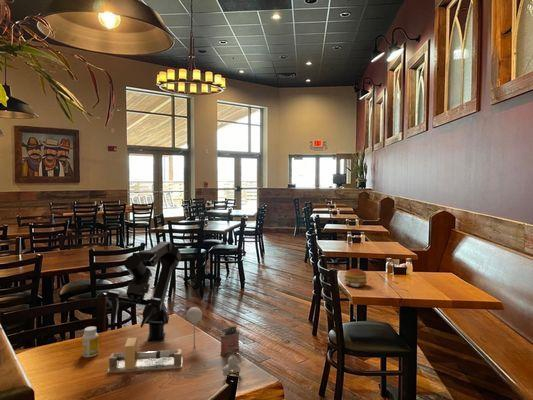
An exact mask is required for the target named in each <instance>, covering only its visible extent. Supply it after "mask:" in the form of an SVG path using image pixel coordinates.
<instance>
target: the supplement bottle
mask: <svg viewBox="0 0 533 400" xmlns="http://www.w3.org/2000/svg"><path fill="white" fill-rule="evenodd" d="M97 331H98V330H97V326H87V327H85V328H84V331H83V332H84V334H83V335H82V337H81V338H82V339H81V341H82V343H81V345H82V349H81V350H82V351H81V352H82V356H83V357H84V358H92V357H95V356H97V355H98V354H99V333H98V332H97Z"/></svg>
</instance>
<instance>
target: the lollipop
mask: <svg viewBox="0 0 533 400" xmlns="http://www.w3.org/2000/svg"><path fill="white" fill-rule="evenodd" d="M185 317H186V319H187V321H188V322H190V323H192V324H193V347H195V346H196V323H199V322H200V321H201V320H202V317H203V312H202V310H201V309H200V307H197V306H192V307H190V308H189V309H188V310H187V311H186V314H185Z"/></svg>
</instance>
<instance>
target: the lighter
mask: <svg viewBox="0 0 533 400" xmlns="http://www.w3.org/2000/svg"><path fill="white" fill-rule="evenodd" d="M237 327H238V326H237V324H236V325H235V324H234V325H231V324H230V325H228V327H223V328H222V329H221V330H222V333H221V334H220V352H219V353H220V357H223V358H225V357H230V355H231V354H232V355H233V353H234V355H235V354H236V353H238V352H240V347H239V345H240V343H239V341H240V335H239V334H240V330H238V329H237Z"/></svg>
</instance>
